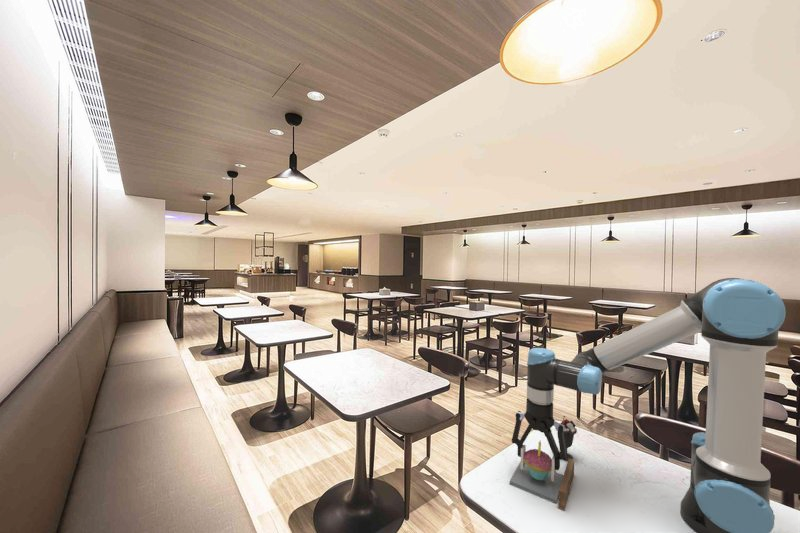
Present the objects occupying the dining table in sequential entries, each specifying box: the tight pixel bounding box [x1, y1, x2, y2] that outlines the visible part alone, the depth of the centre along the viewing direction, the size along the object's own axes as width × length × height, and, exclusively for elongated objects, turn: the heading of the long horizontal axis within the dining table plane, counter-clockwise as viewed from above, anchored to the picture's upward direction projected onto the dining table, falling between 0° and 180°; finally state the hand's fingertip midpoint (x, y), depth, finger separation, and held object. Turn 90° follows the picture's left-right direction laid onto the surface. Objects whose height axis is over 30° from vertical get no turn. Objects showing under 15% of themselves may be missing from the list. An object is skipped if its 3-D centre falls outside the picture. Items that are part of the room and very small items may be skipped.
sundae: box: [560, 415, 578, 462], centre depth 111 cm, size 7×7×15 cm
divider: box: [557, 458, 575, 512], centre depth 95 cm, size 2×18×5 cm, turn 144°
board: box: [509, 460, 564, 505], centre depth 99 cm, size 13×13×1 cm
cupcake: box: [523, 441, 552, 480], centre depth 99 cm, size 9×8×12 cm
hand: (537, 472), depth 99 cm, fingers closed on cupcake, 8 cm apart
